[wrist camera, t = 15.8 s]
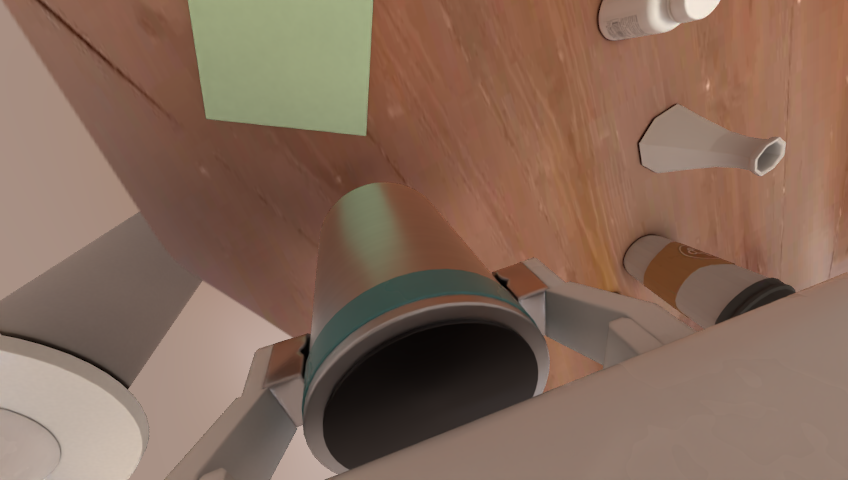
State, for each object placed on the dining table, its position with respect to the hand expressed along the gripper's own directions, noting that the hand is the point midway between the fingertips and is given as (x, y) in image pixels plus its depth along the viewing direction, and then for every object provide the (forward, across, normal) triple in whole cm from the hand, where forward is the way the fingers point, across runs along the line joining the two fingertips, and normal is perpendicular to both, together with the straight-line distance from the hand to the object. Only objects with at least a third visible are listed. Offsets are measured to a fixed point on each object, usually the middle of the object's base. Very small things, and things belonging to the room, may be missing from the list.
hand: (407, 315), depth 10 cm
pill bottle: (+21, -26, -7) cm, 35 cm away
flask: (+21, -34, +6) cm, 41 cm away
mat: (+21, +2, -10) cm, 24 cm away
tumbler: (+1, 0, +3) cm, 3 cm away
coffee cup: (+21, -34, +22) cm, 46 cm away
